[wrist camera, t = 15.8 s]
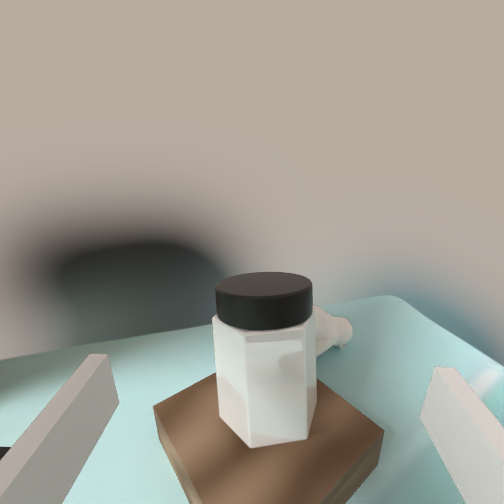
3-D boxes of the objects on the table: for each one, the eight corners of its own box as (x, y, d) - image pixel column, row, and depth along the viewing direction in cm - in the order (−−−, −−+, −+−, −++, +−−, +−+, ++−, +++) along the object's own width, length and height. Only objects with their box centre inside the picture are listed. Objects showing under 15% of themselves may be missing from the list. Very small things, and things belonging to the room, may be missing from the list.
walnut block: (159, 442, 29) (152, 406, 27) (270, 373, 38) (270, 342, 36) (246, 625, 18) (244, 584, 16) (376, 469, 26) (384, 430, 25)
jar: (302, 378, 30) (299, 268, 29) (335, 438, 22) (333, 290, 21) (218, 389, 29) (210, 275, 27) (220, 456, 21) (208, 302, 19)
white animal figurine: (269, 294, 38) (342, 286, 43) (263, 347, 41) (332, 335, 45) (290, 319, 33) (372, 307, 37) (283, 378, 36) (359, 361, 40)
